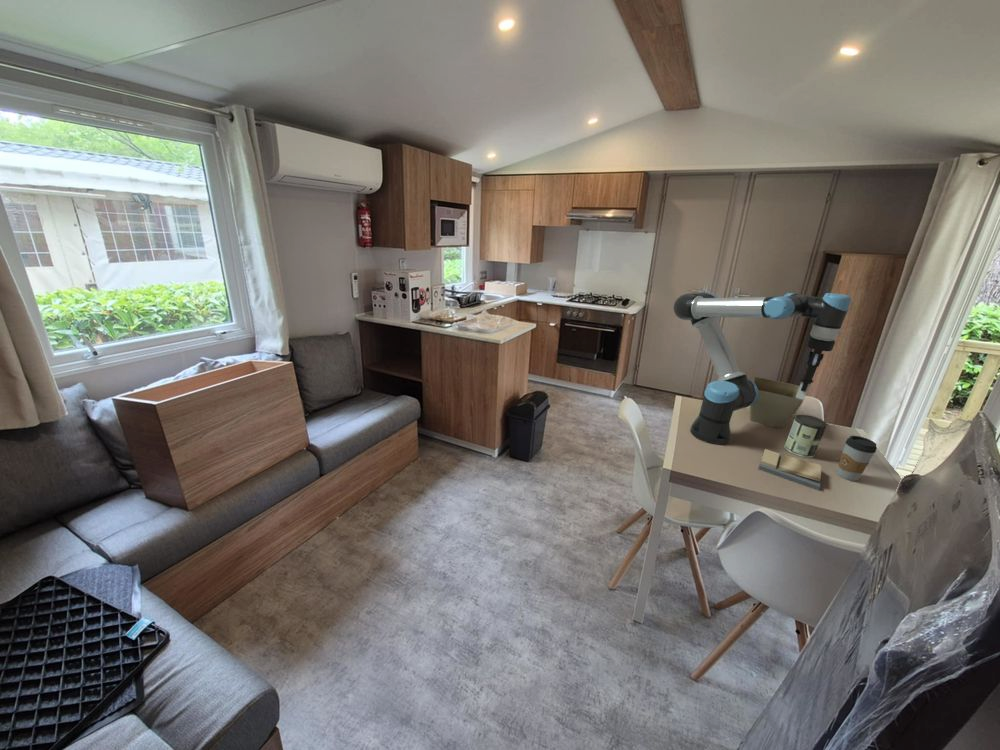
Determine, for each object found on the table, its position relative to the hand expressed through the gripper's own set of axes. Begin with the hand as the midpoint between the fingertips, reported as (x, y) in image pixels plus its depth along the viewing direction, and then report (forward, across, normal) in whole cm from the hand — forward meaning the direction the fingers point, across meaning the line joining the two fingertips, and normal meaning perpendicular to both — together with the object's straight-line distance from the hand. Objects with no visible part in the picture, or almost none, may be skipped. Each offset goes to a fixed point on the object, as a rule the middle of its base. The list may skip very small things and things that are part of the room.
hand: (800, 398), depth 147 cm
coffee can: (+25, +8, -6) cm, 27 cm away
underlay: (+24, -12, -4) cm, 27 cm away
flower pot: (+25, +31, +8) cm, 40 cm away
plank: (+22, -12, -7) cm, 26 cm away
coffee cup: (+25, -1, -21) cm, 32 cm away
